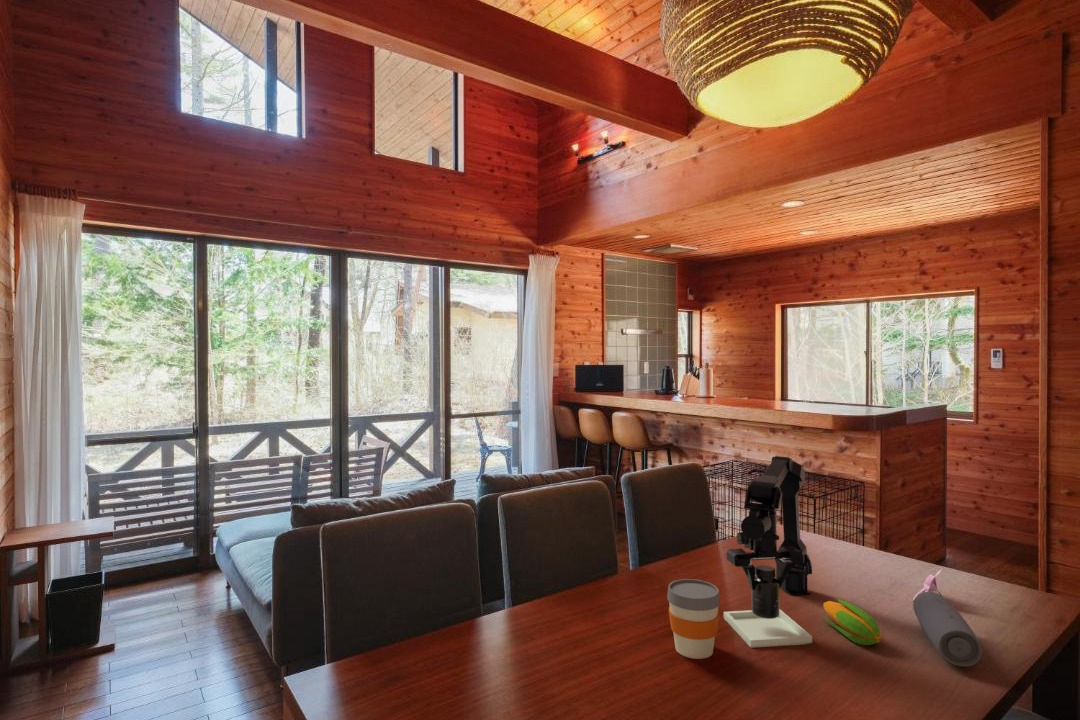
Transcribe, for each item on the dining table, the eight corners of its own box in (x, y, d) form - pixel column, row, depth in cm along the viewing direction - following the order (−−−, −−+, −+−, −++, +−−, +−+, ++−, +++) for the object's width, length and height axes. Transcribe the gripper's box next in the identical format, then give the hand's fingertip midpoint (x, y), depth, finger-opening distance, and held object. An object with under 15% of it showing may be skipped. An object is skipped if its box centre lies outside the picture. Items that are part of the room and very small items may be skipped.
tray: (779, 615, 159) (779, 608, 159) (812, 643, 143) (812, 636, 143) (723, 618, 158) (723, 611, 158) (750, 647, 142) (750, 640, 142)
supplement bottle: (783, 619, 147) (783, 573, 147) (756, 619, 147) (756, 573, 147) (773, 607, 154) (773, 563, 154) (748, 607, 154) (747, 563, 154)
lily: (934, 594, 174) (915, 564, 176) (972, 593, 164) (951, 561, 166) (913, 615, 168) (893, 584, 170) (950, 615, 158) (929, 582, 160)
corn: (863, 621, 138) (811, 588, 158) (862, 653, 138) (810, 616, 158) (891, 621, 139) (836, 588, 159) (889, 652, 139) (834, 616, 159)
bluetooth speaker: (985, 676, 128) (985, 631, 128) (936, 668, 131) (936, 625, 131) (952, 630, 150) (952, 591, 149) (910, 624, 153) (910, 587, 153)
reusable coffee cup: (692, 668, 133) (691, 603, 133) (657, 644, 144) (656, 584, 144) (732, 654, 139) (731, 592, 139) (695, 632, 150) (694, 575, 150)
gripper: (782, 518, 159) (783, 574, 159) (717, 521, 158) (718, 578, 158) (805, 531, 148) (805, 591, 148) (735, 534, 146) (736, 595, 147)
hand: (765, 588), depth 151 cm, fingers closed on supplement bottle, 7 cm apart
